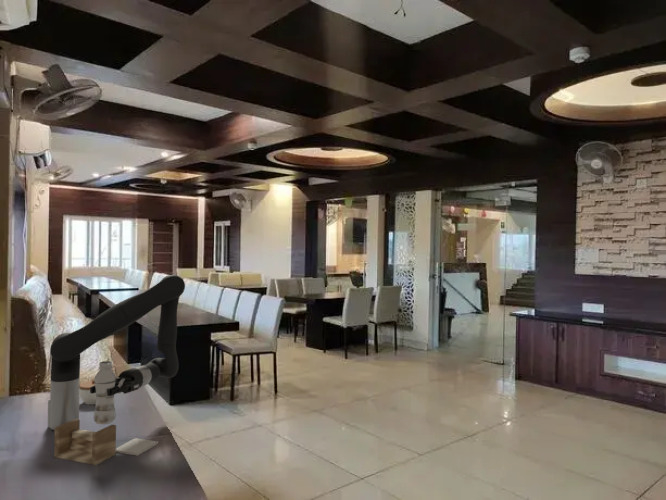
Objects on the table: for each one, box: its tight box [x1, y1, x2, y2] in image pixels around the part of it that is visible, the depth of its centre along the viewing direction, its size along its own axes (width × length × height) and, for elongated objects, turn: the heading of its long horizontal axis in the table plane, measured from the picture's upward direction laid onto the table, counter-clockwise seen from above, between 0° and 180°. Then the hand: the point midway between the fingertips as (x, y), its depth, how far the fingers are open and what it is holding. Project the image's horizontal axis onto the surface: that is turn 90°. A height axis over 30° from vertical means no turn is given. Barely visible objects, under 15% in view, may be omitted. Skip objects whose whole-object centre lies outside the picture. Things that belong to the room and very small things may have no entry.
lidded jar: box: [79, 379, 96, 405], centre depth 203 cm, size 11×11×9 cm
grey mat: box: [116, 437, 159, 456], centre depth 159 cm, size 9×10×1 cm
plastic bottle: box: [93, 360, 117, 425], centre depth 159 cm, size 6×7×20 cm
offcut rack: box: [53, 418, 117, 466], centre depth 152 cm, size 16×8×9 cm, turn 73°
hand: (99, 391), depth 157 cm, fingers closed on plastic bottle, 6 cm apart
